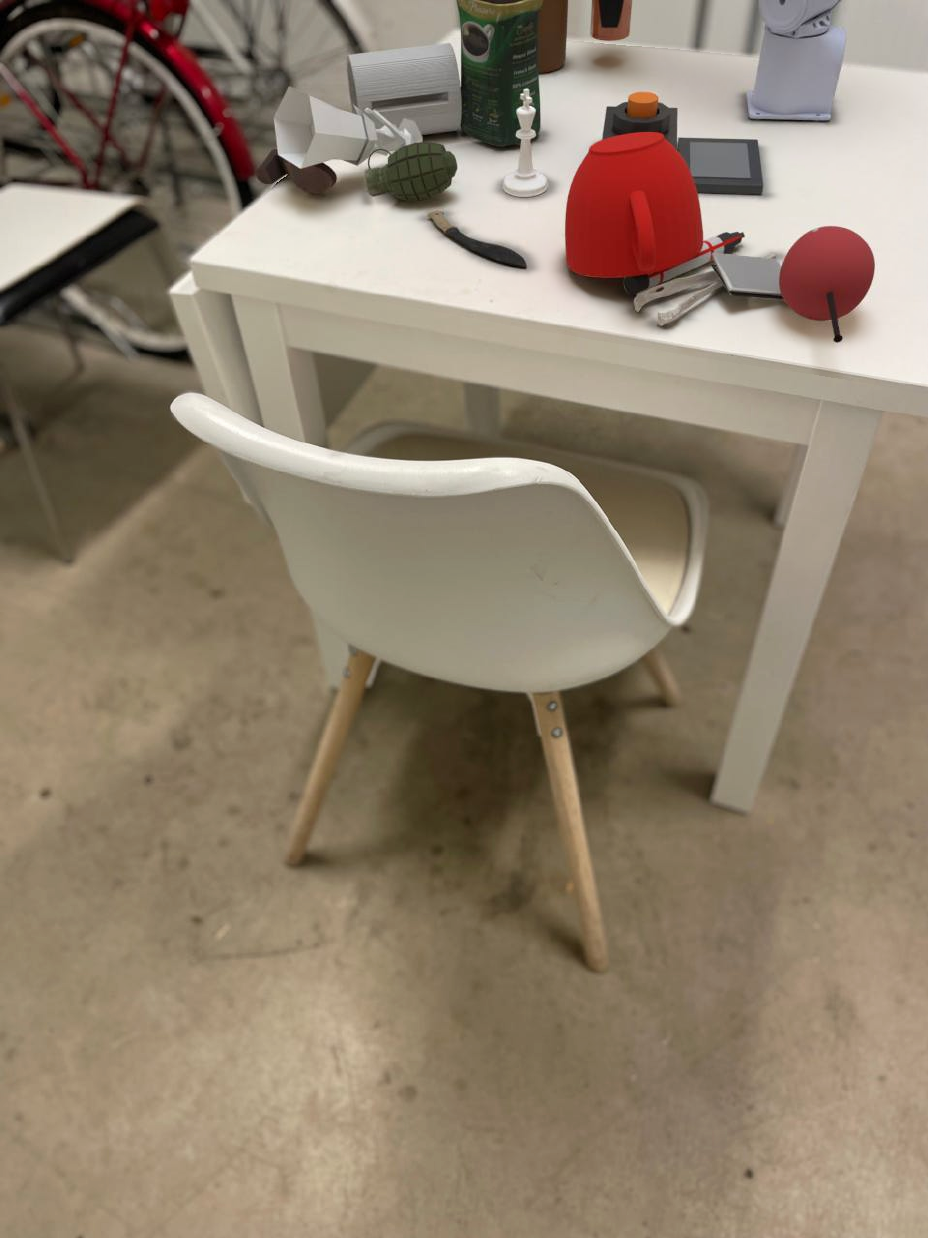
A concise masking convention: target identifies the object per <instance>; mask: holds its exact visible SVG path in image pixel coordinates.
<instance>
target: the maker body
mask: <svg viewBox="0 0 928 1238" xmlns="http://www.w3.org/2000/svg"><path fill="white" fill-rule="evenodd" d="M627 107H628V101H623V102H621V103H619V104H618V105H615V106H613V105H611V106H610V105H607V106H606V108H605V115H604V123H603V128H602V129H603V130H602V137H601V140H603V139H607V138H610V137H614V136H618V135H623V134H629V133H637V132H658V133H661V134H663V135H664V138H665V139H666V140H667V141H668V142H669V143H670V144H671V145H672V146H673V147H674V148H675V149H676V150H677V144H678V107H669V106H667V105H666V104H665V103H663V102H659V101H658V107H657V115H656V116H654V117H649V118H636V117H632V116H628V115H627Z"/></svg>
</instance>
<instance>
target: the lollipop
mask: <svg viewBox="0 0 928 1238" xmlns="http://www.w3.org/2000/svg"><path fill="white" fill-rule="evenodd" d="M875 269H876V262H875V256H874V253H873V250H872V248H871V247H870V245H869V244H868V242H867V241H866V239H864V238H863V237H862V236H861V235H860V234H859V233H857V232H855V231H853V230H852V229H849V228H846V227H842V226H839V225H838V226H836V225H825V226H820V227H816V228H813V229H810V230H809V231H807V232H805V233H804V234H802V236H800V237H799V238H798V239H797V240H796V241H795V242H794V243H793V244H792V245H791V246H790V248H789V249H788V251H787V253H786V254H785V256H784V259H783V260H782V264H781V270H780V276H779V286H780V291H781V295H782V297H783V299H784V300H783V301H784V302H785V304H786V305H787V307H788V308H790V309H791V310H792V311H793V312H795V313H796V314H797V315H798V316H801V317H803V318H805V319H807V320H810V321H817V322H829V321H831V327H832V331H833V339H832V340H833V342H834V343H835V344H836V343H837V344H838V343H841V342H842V341H843V338H844V337H843V336H842V334H841V330H840V329H841V328H840V324H839V319H840V318H843V317H845V316H846V315H848V314H850V313H852V312H853V311H854V310H855V309H856V308H857V307H859V305H860V304H861V302H863V300H864V299H865V298H866V296H867V295H868V292H869V290H870V289H871V286H872V283H873V280H874V277H875Z"/></svg>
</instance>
